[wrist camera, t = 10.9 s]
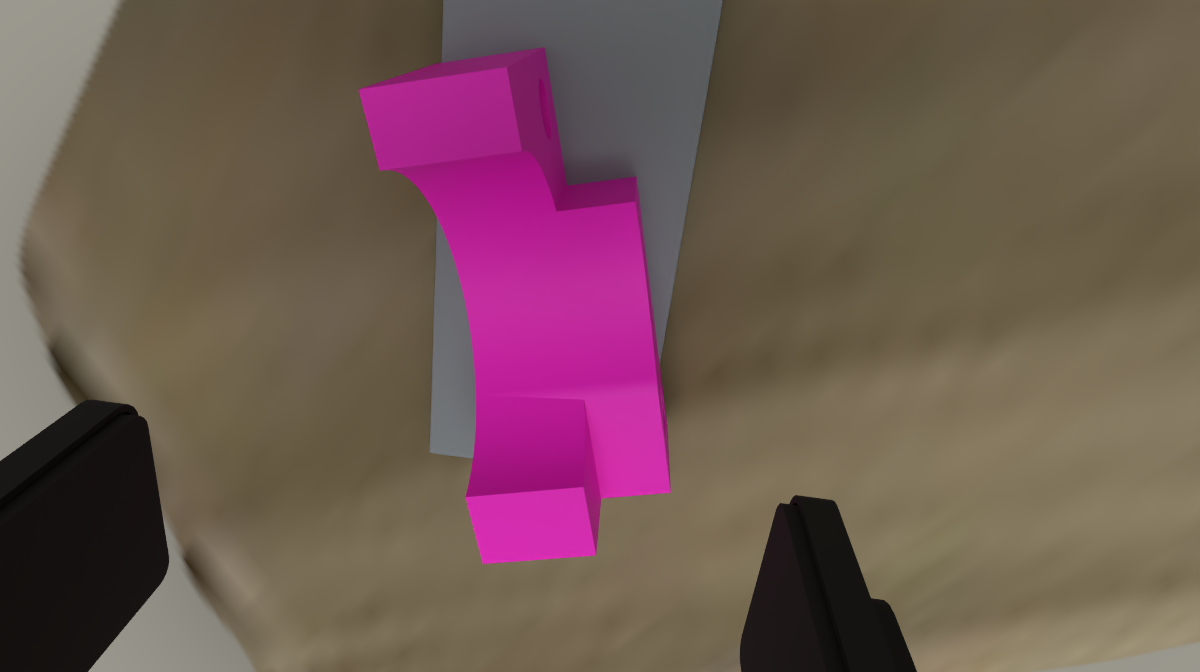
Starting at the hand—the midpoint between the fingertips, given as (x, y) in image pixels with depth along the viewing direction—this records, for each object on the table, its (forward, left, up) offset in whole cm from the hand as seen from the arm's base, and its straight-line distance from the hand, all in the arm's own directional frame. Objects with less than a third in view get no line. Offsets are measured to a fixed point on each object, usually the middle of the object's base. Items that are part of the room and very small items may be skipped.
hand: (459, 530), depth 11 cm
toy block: (0, +2, -18) cm, 18 cm away
